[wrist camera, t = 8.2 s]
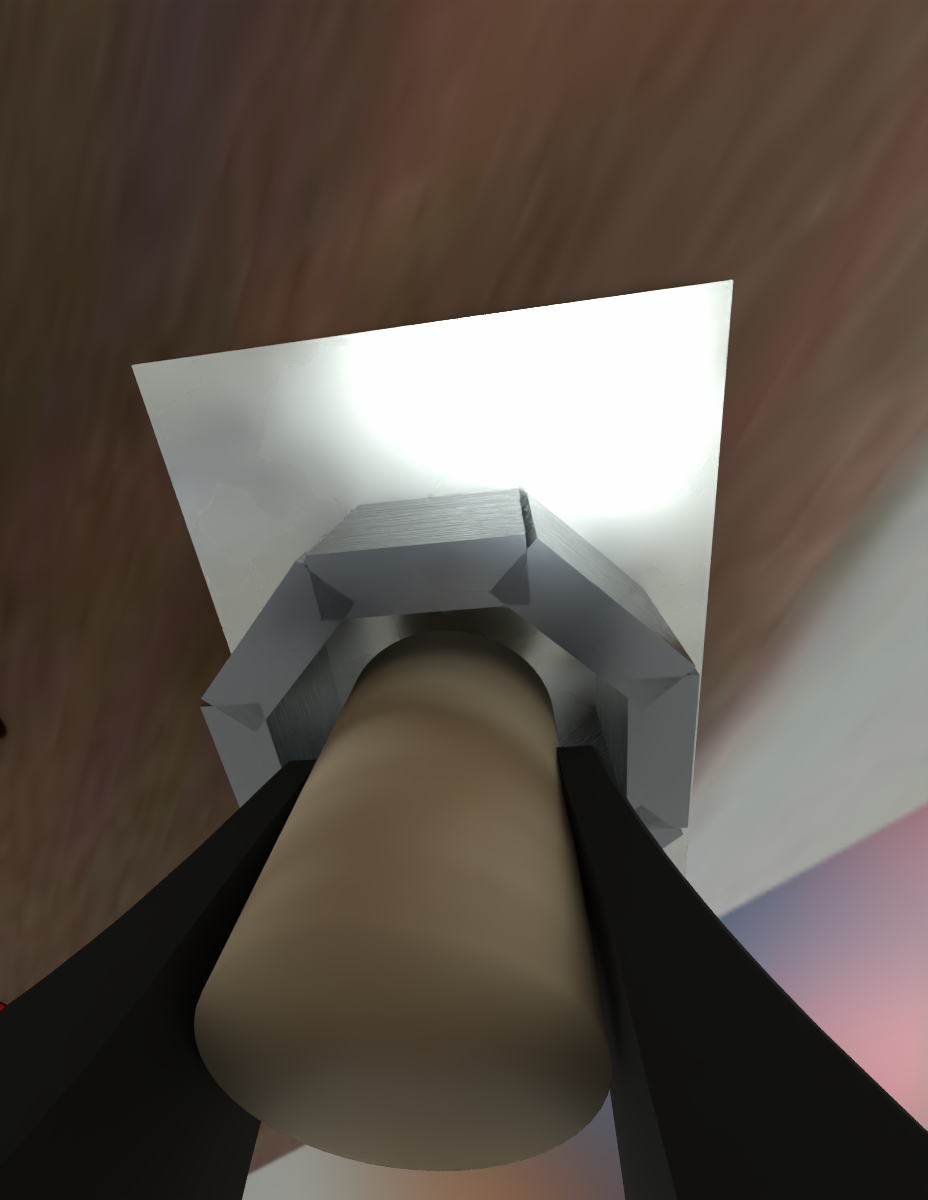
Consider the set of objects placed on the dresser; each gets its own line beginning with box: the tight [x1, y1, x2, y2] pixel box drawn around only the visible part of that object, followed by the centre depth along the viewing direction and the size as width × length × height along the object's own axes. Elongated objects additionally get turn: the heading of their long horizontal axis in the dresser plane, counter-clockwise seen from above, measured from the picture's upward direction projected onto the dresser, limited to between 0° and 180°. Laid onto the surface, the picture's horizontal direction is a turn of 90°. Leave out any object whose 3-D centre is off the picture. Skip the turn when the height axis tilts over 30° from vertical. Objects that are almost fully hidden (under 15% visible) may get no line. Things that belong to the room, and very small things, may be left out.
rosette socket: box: [132, 280, 733, 877], centre depth 12 cm, size 12×16×4 cm
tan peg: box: [194, 630, 612, 1171], centre depth 8 cm, size 4×4×6 cm
